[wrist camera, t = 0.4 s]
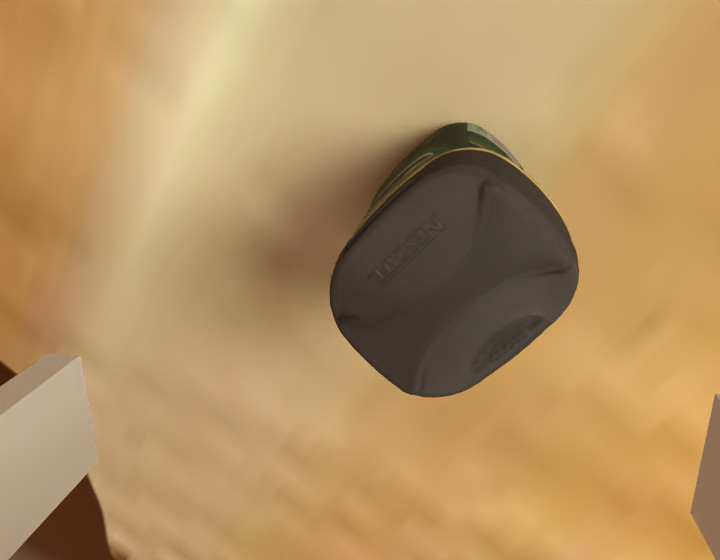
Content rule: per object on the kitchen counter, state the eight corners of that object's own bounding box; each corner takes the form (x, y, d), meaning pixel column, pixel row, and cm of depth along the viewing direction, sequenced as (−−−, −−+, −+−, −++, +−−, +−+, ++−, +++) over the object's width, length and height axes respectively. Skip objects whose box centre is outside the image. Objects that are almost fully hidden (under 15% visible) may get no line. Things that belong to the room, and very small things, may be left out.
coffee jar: (439, 290, 40) (428, 452, 23) (355, 209, 39) (277, 314, 22) (551, 189, 37) (636, 289, 20) (462, 98, 36) (470, 118, 19)
